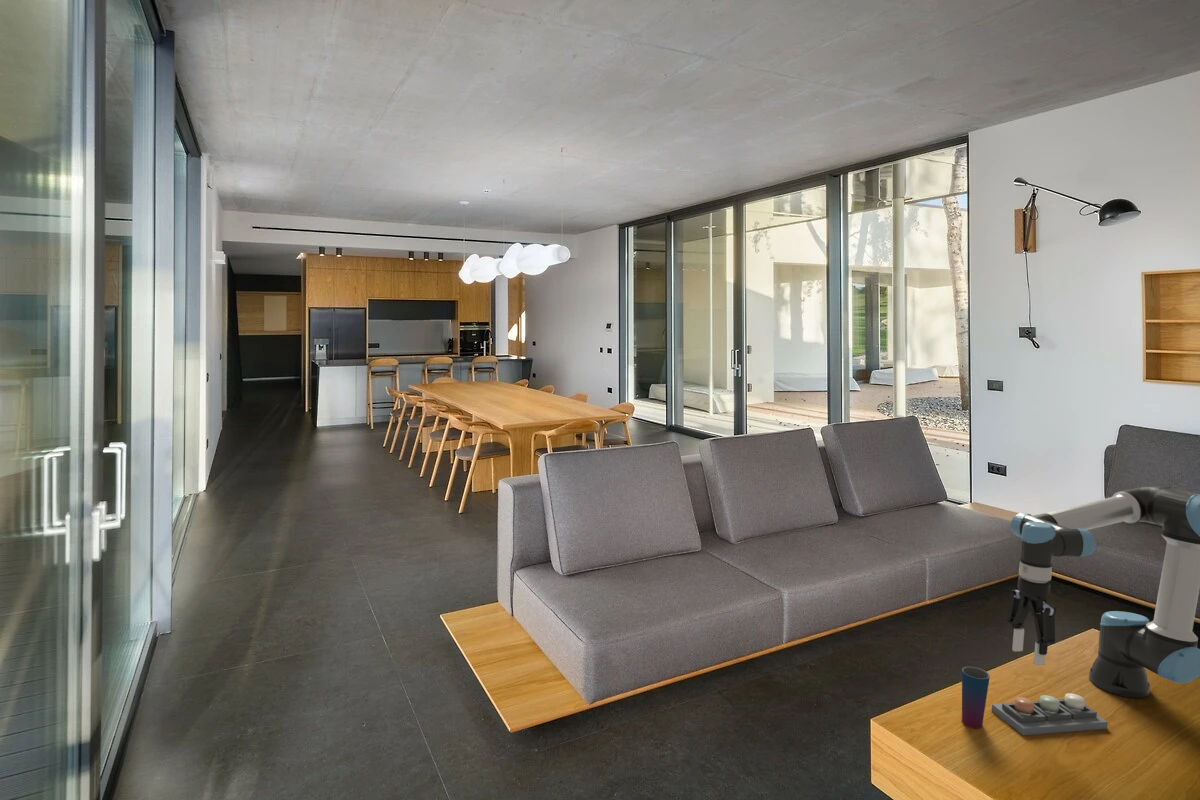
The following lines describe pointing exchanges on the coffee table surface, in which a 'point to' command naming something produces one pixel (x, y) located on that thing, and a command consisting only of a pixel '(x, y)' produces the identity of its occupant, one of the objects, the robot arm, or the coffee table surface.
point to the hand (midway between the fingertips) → (1028, 657)
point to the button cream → (1074, 701)
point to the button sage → (1049, 703)
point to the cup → (974, 695)
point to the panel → (1049, 719)
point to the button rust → (1024, 705)
